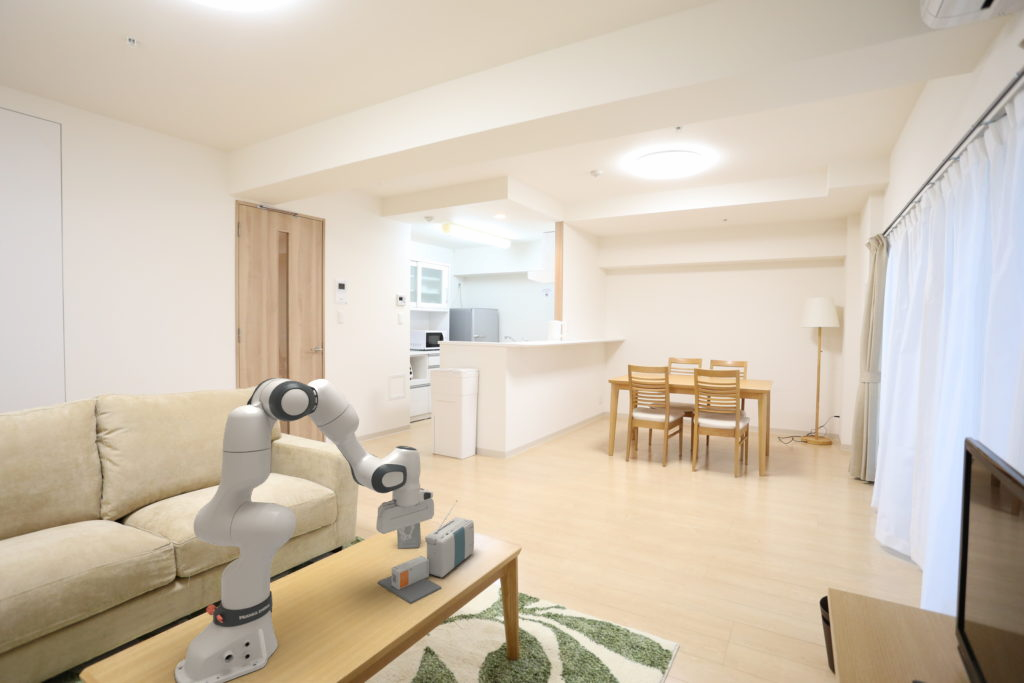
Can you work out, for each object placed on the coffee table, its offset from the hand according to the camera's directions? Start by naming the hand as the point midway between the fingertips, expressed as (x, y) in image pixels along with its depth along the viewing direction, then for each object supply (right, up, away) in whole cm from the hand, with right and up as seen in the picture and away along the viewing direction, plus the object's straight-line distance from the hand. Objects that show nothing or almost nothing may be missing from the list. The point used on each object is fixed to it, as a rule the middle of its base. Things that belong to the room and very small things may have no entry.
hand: (406, 539), depth 159 cm
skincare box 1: (-6, -15, +32) cm, 36 cm away
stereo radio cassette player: (+12, -16, +17) cm, 26 cm away
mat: (+1, -16, +2) cm, 16 cm away
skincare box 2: (-4, -13, -1) cm, 13 cm away
